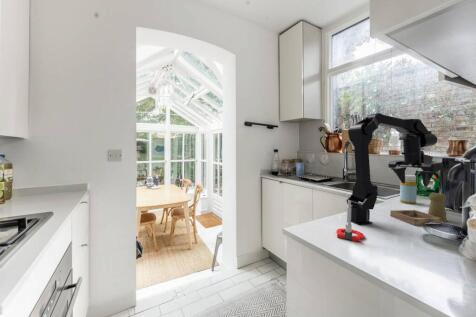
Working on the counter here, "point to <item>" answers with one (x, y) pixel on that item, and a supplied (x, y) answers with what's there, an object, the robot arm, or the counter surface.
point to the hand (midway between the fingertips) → (414, 185)
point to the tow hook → (349, 228)
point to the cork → (437, 206)
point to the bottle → (408, 190)
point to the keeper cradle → (423, 218)
